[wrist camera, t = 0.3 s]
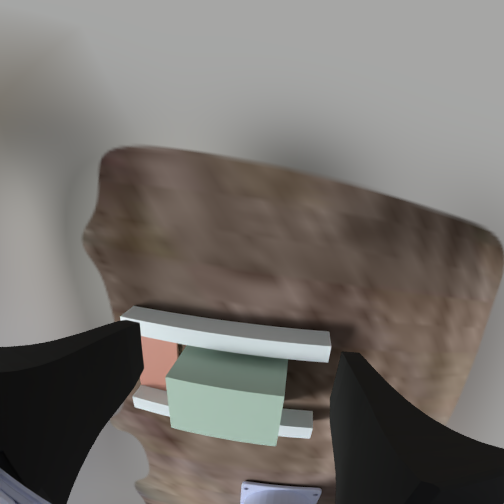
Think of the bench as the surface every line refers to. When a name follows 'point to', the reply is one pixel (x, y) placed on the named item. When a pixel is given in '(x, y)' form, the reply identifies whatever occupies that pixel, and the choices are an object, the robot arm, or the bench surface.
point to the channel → (224, 339)
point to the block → (227, 394)
